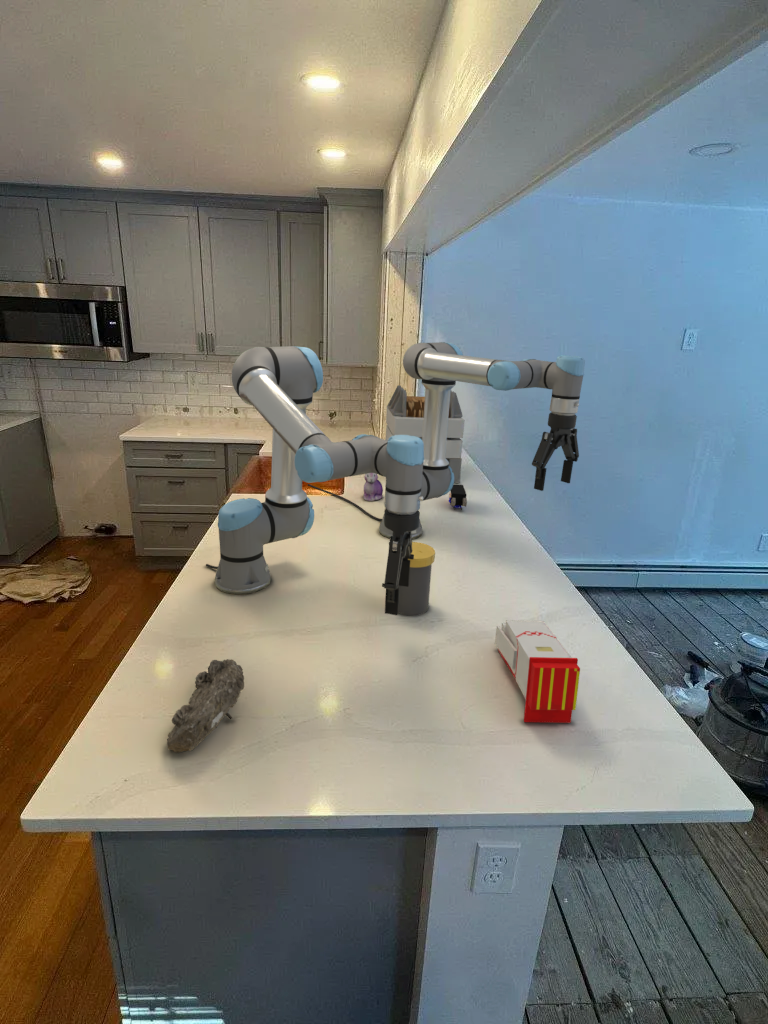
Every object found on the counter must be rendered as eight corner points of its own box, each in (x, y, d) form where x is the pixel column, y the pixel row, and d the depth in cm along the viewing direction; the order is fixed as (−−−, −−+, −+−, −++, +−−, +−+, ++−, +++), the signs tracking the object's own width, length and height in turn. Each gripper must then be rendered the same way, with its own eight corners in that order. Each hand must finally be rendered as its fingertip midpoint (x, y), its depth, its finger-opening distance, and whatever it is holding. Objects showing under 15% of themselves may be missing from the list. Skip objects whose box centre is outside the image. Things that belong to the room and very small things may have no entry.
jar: (384, 604, 152) (387, 550, 146) (410, 594, 158) (413, 541, 152) (409, 619, 145) (413, 562, 140) (435, 608, 151) (440, 553, 146)
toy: (541, 605, 135) (589, 664, 106) (536, 657, 138) (581, 729, 108) (490, 604, 135) (524, 663, 105) (486, 656, 137) (518, 728, 108)
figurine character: (467, 515, 225) (461, 499, 238) (469, 498, 221) (463, 482, 235) (450, 514, 224) (445, 498, 238) (452, 497, 221) (447, 482, 234)
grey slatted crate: (382, 463, 289) (386, 382, 275) (445, 464, 293) (451, 384, 279) (390, 482, 257) (394, 392, 243) (460, 483, 261) (468, 394, 247)
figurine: (367, 502, 230) (368, 467, 225) (357, 495, 238) (358, 460, 233) (388, 500, 234) (389, 465, 229) (377, 492, 242) (378, 458, 237)
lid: (383, 556, 147) (383, 548, 146) (413, 546, 154) (414, 538, 153) (412, 571, 139) (413, 562, 139) (443, 560, 146) (443, 551, 146)
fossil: (192, 660, 117) (244, 628, 112) (224, 691, 120) (276, 661, 115) (142, 746, 98) (202, 712, 93) (182, 779, 101) (242, 748, 96)
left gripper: (409, 532, 108) (403, 629, 115) (428, 494, 131) (422, 577, 138) (371, 527, 109) (367, 624, 116) (396, 490, 132) (392, 573, 139)
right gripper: (548, 419, 148) (537, 496, 155) (598, 411, 163) (586, 482, 171) (525, 414, 153) (515, 489, 160) (575, 407, 169) (564, 476, 176)
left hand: (397, 598), depth 127 cm, fingers open, 13 cm apart
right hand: (552, 485), depth 166 cm, fingers open, 13 cm apart
